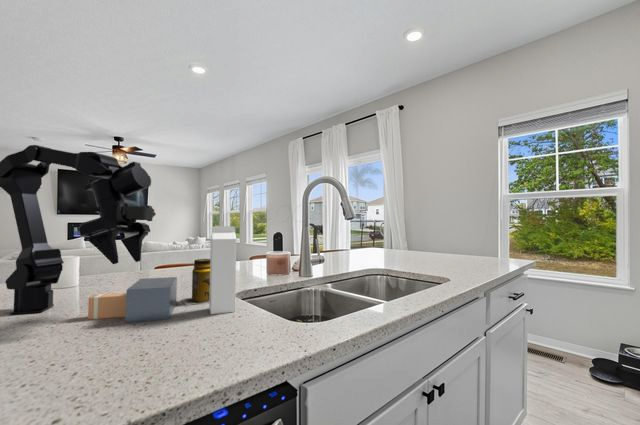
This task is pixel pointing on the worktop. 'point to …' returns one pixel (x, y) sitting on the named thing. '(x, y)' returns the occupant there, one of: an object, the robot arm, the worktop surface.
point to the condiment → (200, 282)
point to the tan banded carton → (107, 306)
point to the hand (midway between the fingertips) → (127, 262)
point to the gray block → (151, 299)
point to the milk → (222, 270)
